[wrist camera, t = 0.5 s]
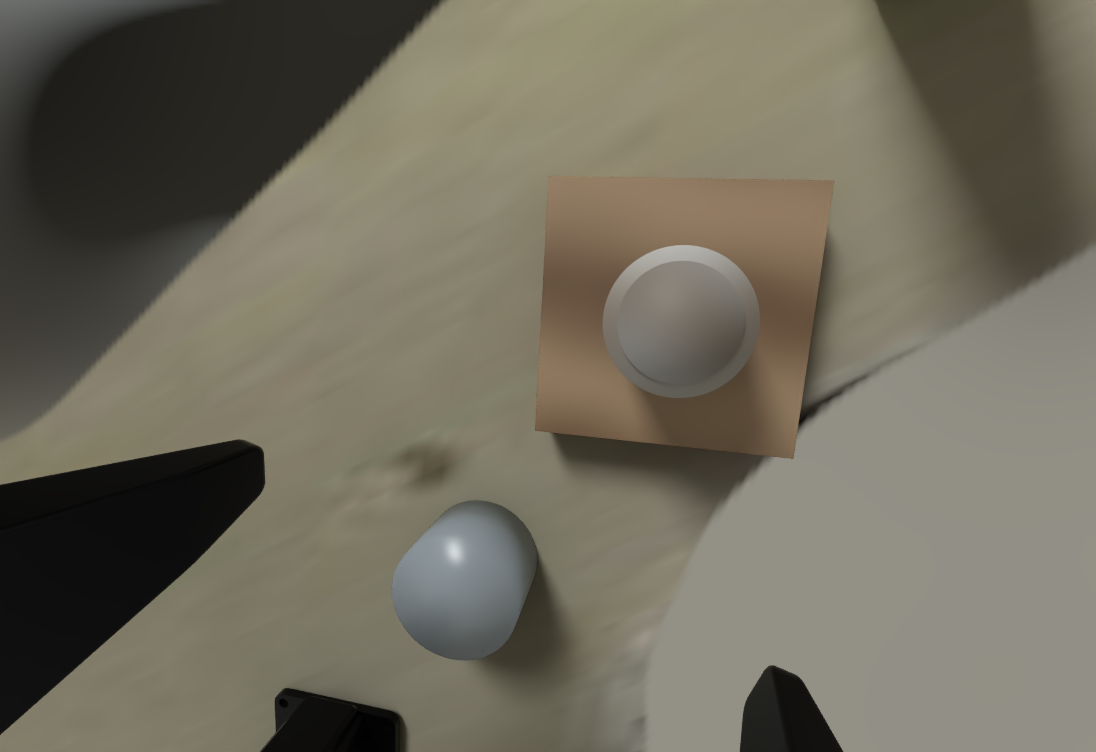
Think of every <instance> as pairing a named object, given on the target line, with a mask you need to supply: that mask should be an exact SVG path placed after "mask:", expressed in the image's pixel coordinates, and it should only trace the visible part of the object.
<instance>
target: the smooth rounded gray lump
mask: <svg viewBox="0 0 1096 752" xmlns="http://www.w3.org/2000/svg"><path fill="white" fill-rule="evenodd" d="M536 568H537V551H536V546H535V543H534V540H533V538H532V536H531V534H530V532H529V530H528V529H527V527H526V526H525V525H524V523H523V522H522V521H521V520H520V519H519V518H518V517H517V516H516V515H515V514H513V513H512V512H511V511H509V510H507V509H506V508H504V507H502V506H500V505H497V504H494V503H491V502H487V501H477V500H476V501H467V502H462V503H459V504H456V505H455V506H453V507H451V508H449V509H448V510H446V511H445V512H444V513H443V514H442V515H441V516H440V517H439V518H438V519H437V520H436V521H435V522H434V524H433V525H432V526H431V527H430V528H429V529H428V530H427V531H426V532H425V533H424V534H423V536H422V537H421V538H420V539H419V540H418V541H417V542H416V543H415V544H414V545H413V546H412V547H411V549H410V550H409V551H408V552H407V553H406V554H405V555H404V556H403V558H402V559H401V560H400V562H399V564H398V566H397V567H396V570H395V573H394V576H393V581H392V598H393V603H394V607H395V610H396V613H397V615H398V618H399V620H400V621H401V623H402V625H403V626H404V628H405V629H406V631H407V632H408V633H409V634H410V635H411V636H412V637H413V639H414V640H416V641H417V642H418V643H419V644H420V645H421V646H423V647H424V648H426V649H427V650H429V651H431V652H433V653H435V654H437V655H440V656H442V657H445V658H449V659H454V660H475V659H479V658H483V657H486V656H488V655H490V654H492V653H494V652H495V651H497V650H498V649H499V648H501V647H502V646H503V645H504V644H505V643H506V641H507V640H508V639H509V637H510V636H511V634H512V632H513V630H514V628H515V625H516V623H517V620H518V617H519V615H520V612H521V610H522V607H523V605H524V602H525V599H526V597H527V594H528V592H529V589H530V587H531V584H532V581H533V579H534V576H535V573H536Z"/></svg>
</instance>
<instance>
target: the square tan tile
mask: <svg viewBox="0 0 1096 752" xmlns="http://www.w3.org/2000/svg"><path fill="white" fill-rule="evenodd" d="M833 186H834V181H822V180H761V179H700V178H638V177H577V176H549V182H548V201H547V219H546V238H545V256H544V275H543V293H542V311H541V330H540V348H539V367H538V385H537V404H536V422H535V431H543V432H552V433H561V434H570V435H580V436H589V437H598V438H607V439H616V440H626V441H635V442H644V443H653V444H662V445H672V446H681V447H690V448H699V449H708V450H718V451H727V452H736V453H745V454H754V455H764V456H773V457H782V458H791V459H793V457H794V451H795V444H796V437H797V430H798V424H799V417H800V410H801V403H802V396H803V390H804V383H805V376H806V369H807V362H808V356H809V349H810V342H811V335H812V328H813V322H814V315H815V308H816V301H817V294H818V288H819V281H820V274H821V267H822V261H823V254H824V247H825V240H826V233H827V227H828V220H829V213H830V206H831V199H832V193H833Z"/></svg>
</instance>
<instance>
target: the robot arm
mask: <svg viewBox="0 0 1096 752" xmlns="http://www.w3.org/2000/svg"><path fill="white" fill-rule="evenodd" d="M264 485H265V466H264V452H263V450H262V448H261V447H259V446H257V445H255V444H253V443H250V442H248V441H246V440H232V441H227V442H222V443H217V444H211V445H206V446H201V447H196V448H191V449H185V450H180V451H175V452H170V453H164V454H159V455H154V456H149V457H143V458H138V459H133V460H128V461H122V462H117V463H112V464H107V465H102V466H96V467H91V468H86V469H81V470H75V471H70V472H65V473H60V474H54V475H49V476H44V477H39V478H33V479H28V480H23V481H18V482H12V483H7V484H2V485H0V735H1V734H2V733H3V732H4V731H5V730H6V729H7V728H9V727H10V726H11V725H12V724H13V723H14V722H15V721H16V720H18V719H19V718H20V717H21V716H22V715H23V714H24V713H26V712H27V711H28V710H29V709H30V708H31V707H32V706H33V705H35V704H36V703H37V702H38V701H39V700H40V699H41V698H43V697H44V696H45V695H46V694H47V693H48V692H49V691H50V690H52V689H53V688H54V687H55V686H56V685H57V684H58V683H60V682H61V681H62V680H63V679H64V678H65V677H66V676H67V675H69V674H70V673H71V672H72V671H73V670H74V669H75V668H76V667H78V666H79V665H80V664H81V663H82V662H83V661H84V660H86V659H87V658H88V657H89V656H90V655H91V654H92V653H93V652H95V651H96V650H97V649H98V648H99V647H100V646H101V645H103V644H104V643H105V642H106V641H107V640H108V639H109V638H110V637H112V636H113V635H114V634H115V633H116V632H117V631H118V630H120V629H121V628H122V627H123V626H124V625H125V624H126V623H127V622H129V621H130V620H131V619H132V618H133V617H134V616H135V615H137V614H138V613H139V612H140V611H141V610H142V609H143V608H144V607H146V606H147V605H148V604H149V603H150V602H151V601H152V600H154V599H155V598H156V597H157V596H158V595H159V594H160V593H161V592H163V591H164V590H165V589H166V588H167V587H168V586H169V585H171V584H172V583H173V582H174V581H175V580H176V579H177V578H178V577H180V576H181V575H182V574H183V573H184V572H185V571H186V570H187V569H188V568H189V567H191V566H192V565H193V564H194V563H195V562H196V561H197V560H198V559H199V558H200V557H201V556H202V555H203V554H204V553H205V552H206V551H207V550H208V549H209V548H210V547H211V546H212V545H213V544H214V542H215V541H216V540H217V539H218V538H219V537H220V536H221V535H222V534H223V533H224V532H225V531H226V530H227V529H228V528H229V527H230V526H231V525H232V524H233V523H234V522H235V520H236V519H237V518H238V517H239V516H240V515H241V514H242V513H243V512H244V511H245V510H246V509H247V508H248V507H249V506H250V505H251V504H252V503H253V502H254V501H255V500H256V499H257V497H258V496H259V495H260V494H261V492H262V491H263V488H264ZM275 720H276V733H275V734H274V736H273V737H272V738H271V739H270V740H269V741H268V743H267V744H266V745H265V746H264V747H263V749H262V750H261V751H260V752H399V739H400V721H399V718H398V716H397V715H396V714H395V713H394V712H392V711H389V710H385V709H380V708H376V707H371V706H367V705H362V704H358V703H353V702H349V701H344V700H340V699H335V698H331V697H326V696H322V695H317V694H313V693H308V692H304V691H299V690H295V689H290V688H285V689H283V690H282V691H281V692H280V693H279V694H278V695H277V696H276V698H275ZM388 723H389V724H388ZM740 752H843V750H842V749H841V747H840V745H839V743H838V742H837V740H836V738H835V736H834V735H833V733H832V731H831V730H830V728H829V726H828V724H827V722H826V721H825V719H824V717H823V715H822V714H821V712H820V710H819V708H818V707H817V705H816V704H815V701H814V700H813V698H812V696H811V694H810V693H809V691H808V689H807V688H806V686H805V684H804V682H803V681H802V680H801V679H800V678H799V677H798V676H797V675H795V674H793V673H790V672H788V671H786V670H783V669H781V668H779V667H776V666H773V665H772V666H768V667H767V668H766V669H765V670H764V672H763V674H762V675H761V677H760V678H759V680H758V682H757V683H756V685H755V687H754V688H753V690H752V691H751V693H750V694H749V696H748V698H747V700H746V703H745V706H744V712H743V722H742V732H741V743H740Z"/></svg>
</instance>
